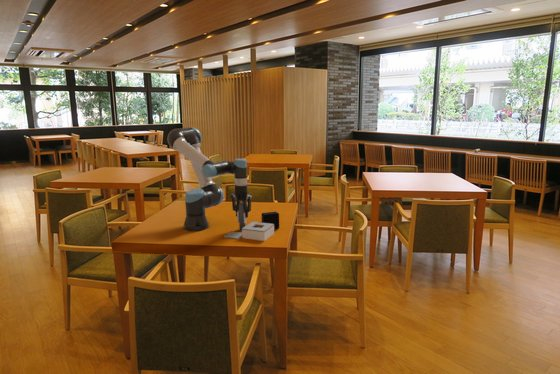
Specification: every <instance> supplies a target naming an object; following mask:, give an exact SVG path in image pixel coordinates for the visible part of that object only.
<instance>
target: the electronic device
mask: <svg viewBox="0 0 560 374" xmlns="http://www.w3.org/2000/svg"><path fill="white" fill-rule="evenodd" d="M261 223H270V224H274V230H278V229H280V213H279V212H278V211H269V212H262V213H261Z"/></svg>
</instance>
